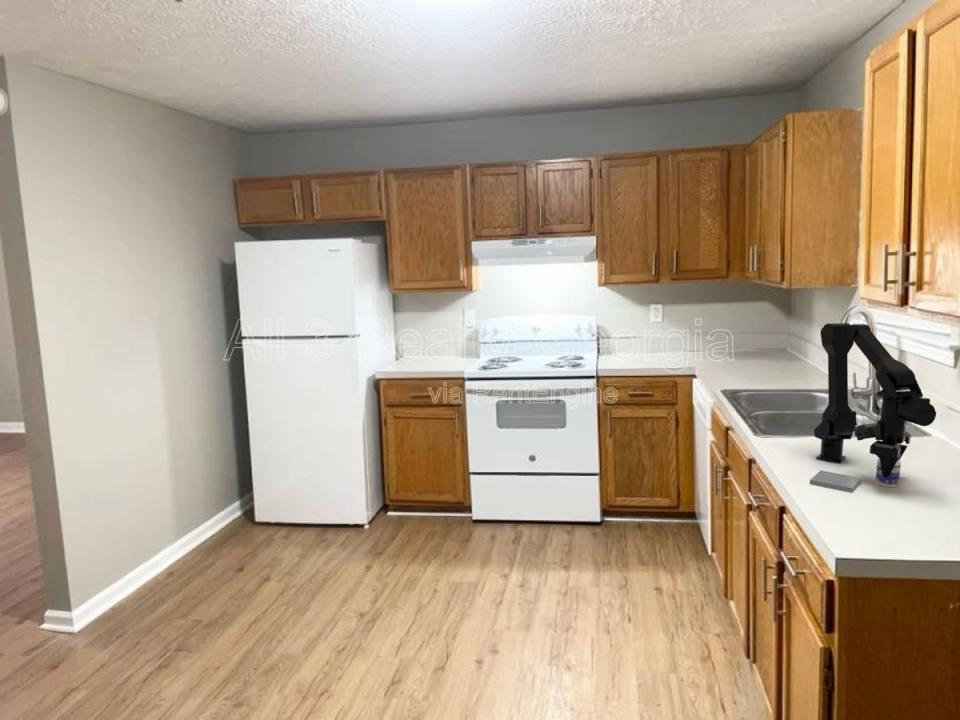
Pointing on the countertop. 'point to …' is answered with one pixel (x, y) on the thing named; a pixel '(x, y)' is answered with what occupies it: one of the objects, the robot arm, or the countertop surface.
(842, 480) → the ceramic coaster
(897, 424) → the robot arm
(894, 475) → the pill bottle
